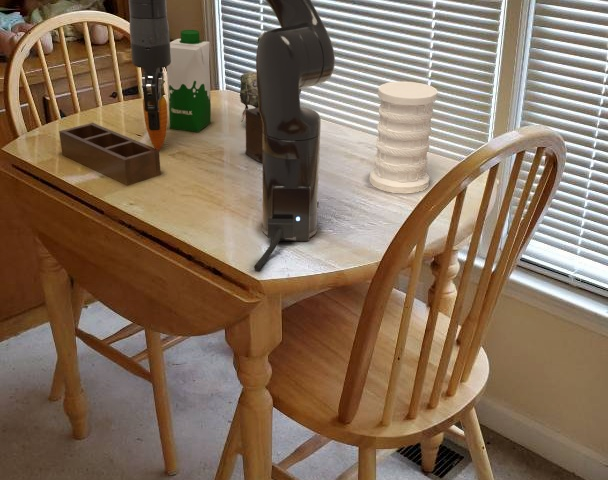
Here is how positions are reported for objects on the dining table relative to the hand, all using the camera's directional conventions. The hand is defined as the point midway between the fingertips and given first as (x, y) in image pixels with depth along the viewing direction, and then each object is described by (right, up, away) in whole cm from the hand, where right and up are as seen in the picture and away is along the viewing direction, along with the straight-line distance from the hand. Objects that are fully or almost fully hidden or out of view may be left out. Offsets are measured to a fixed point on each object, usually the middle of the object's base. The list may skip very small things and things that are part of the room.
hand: (156, 125), depth 166 cm
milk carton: (+5, +4, +17) cm, 18 cm away
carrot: (0, -5, +3) cm, 6 cm away
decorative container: (+49, -13, -8) cm, 51 cm away
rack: (-8, -9, -5) cm, 13 cm away
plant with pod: (+21, +4, +18) cm, 28 cm away
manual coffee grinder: (+26, -7, 0) cm, 28 cm away
